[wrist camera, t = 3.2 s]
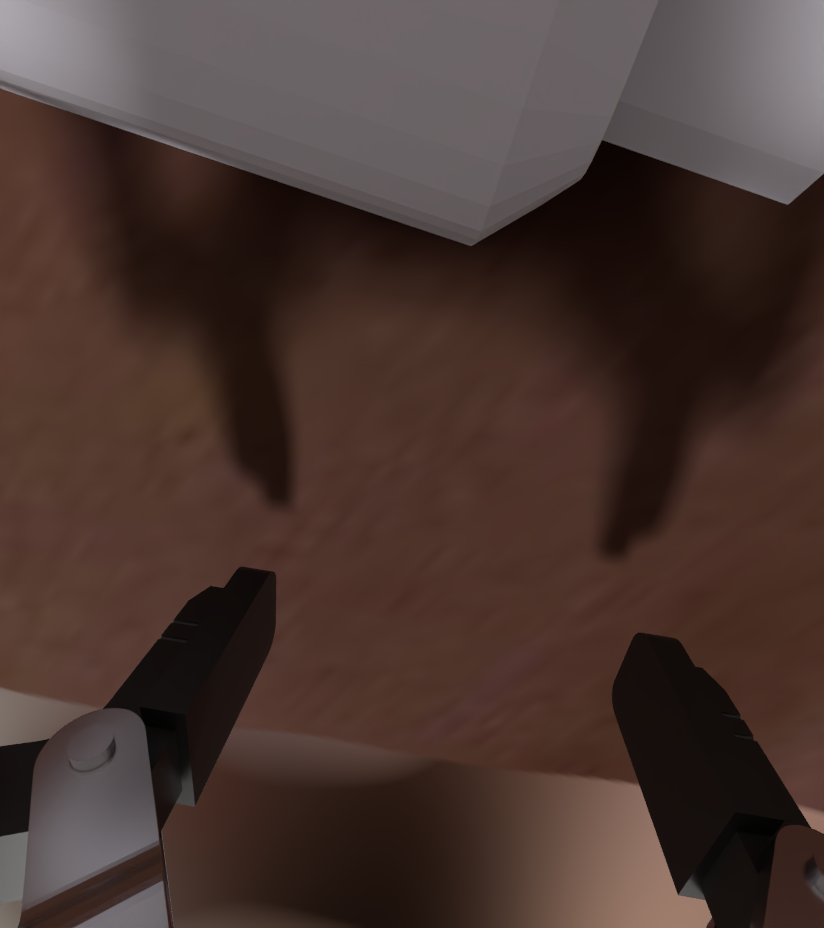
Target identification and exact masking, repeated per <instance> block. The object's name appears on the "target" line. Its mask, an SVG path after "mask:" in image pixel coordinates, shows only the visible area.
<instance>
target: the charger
mask: <svg viewBox="0 0 824 928" xmlns="http://www.w3.org/2000/svg"><path fill="white" fill-rule="evenodd" d="M0 88H1V89H4V90H6V91H9V92H12V93H15V94H18V95H21V96H24V97H27V98H30V99H33V100H36V101H39V102H42V103H45V104H48V105H51V106H54V107H57V108H60V109H63V110H66V111H69V112H72V113H75V114H78V115H81V116H84V117H87V118H90V119H93V120H96V121H99V122H102V123H105V124H108V125H111V126H114V127H117V128H120V129H123V130H126V131H129V132H132V133H135V134H138V135H141V136H144V137H147V138H150V139H153V140H156V141H159V142H162V143H165V144H168V145H171V146H173V147H176V148H179V149H182V150H185V151H188V152H191V153H194V154H197V155H200V156H203V157H206V158H209V159H212V160H215V161H218V162H221V163H224V164H227V165H230V166H233V167H236V168H239V169H242V170H245V171H248V172H251V173H254V174H257V175H260V176H263V177H266V178H269V179H272V180H275V181H278V182H281V183H284V184H287V185H290V186H293V187H296V188H299V189H302V190H305V191H308V192H311V193H314V194H317V195H320V196H323V197H326V198H329V199H332V200H335V201H338V202H341V203H344V204H347V205H350V206H353V207H356V208H358V209H361V210H364V211H367V212H370V213H373V214H376V215H379V216H382V217H385V218H388V219H391V220H394V221H397V222H400V223H403V224H406V225H409V226H412V227H415V228H418V229H421V230H424V231H427V232H430V233H433V234H436V235H439V236H442V237H445V238H448V239H451V240H454V241H457V242H460V243H463V244H466V245H469V246H472V245H474V244H476V243H477V242H479V241H481V240H483V239H484V238H486V237H488V236H489V235H491V234H493V233H495V232H496V231H498V230H500V229H501V228H503V227H505V226H506V225H508V224H510V223H512V222H513V221H515V220H517V219H518V218H520V217H522V216H524V215H525V214H527V213H529V212H530V211H532V210H534V209H536V208H537V207H539V206H541V205H542V204H544V203H545V202H547V201H548V200H550V199H551V198H553V197H555V196H556V195H558V194H559V193H561V192H562V191H564V190H565V189H567V188H569V187H570V186H572V185H573V184H575V183H576V182H578V181H579V180H581V178H582V177H583V176H584V174H585V173H586V171H587V169H588V167H589V166H590V164H591V162H592V160H593V158H594V156H595V153H596V151H597V149H598V147H599V145H600V143H601V141H602V140H604V141H606V142H609V143H612V144H615V145H618V146H621V147H624V148H627V149H629V150H632V151H635V152H638V153H641V154H644V155H647V156H649V157H652V158H655V159H658V160H661V161H664V162H667V163H669V164H672V165H675V166H678V167H681V168H684V169H687V170H690V171H692V172H695V173H698V174H701V175H704V176H707V177H710V178H712V179H715V180H718V181H721V182H724V183H727V184H730V185H733V186H735V187H738V188H741V189H744V190H747V191H750V192H753V193H755V194H758V195H761V196H764V197H767V198H770V199H773V200H776V201H778V202H781V203H784V204H787V205H788V204H790V203H791V202H792V201H793V200H794V199H795V198H796V197H798V196H799V195H800V194H801V193H802V192H803V191H804V190H806V189H807V188H808V187H809V186H810V185H811V184H812V183H814V182H815V181H816V180H817V179H818V178H819V177H820V176H822V175H823V174H824V0H0Z"/></svg>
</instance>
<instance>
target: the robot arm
mask: <svg viewBox="0 0 824 928" xmlns="http://www.w3.org/2000/svg"><path fill="white" fill-rule="evenodd" d="M275 625H276V575H275V573H274V572H272V571H265V570H259V569H253V568H247V567H240V568H238V569H237V570H236V572H235V573H234V575H233V576H232V577H231V579H230V580H229V582H228V583H227V584H226V586H225V587H224V588H219V587H213V586H210V587H209V588H207V589H206V590H204V591H202V592H201V593H199V594H198V595H196V596H195V597H193V598H192V599H190V600H189V601H188V602H187V603H186V605H185V606H184V607H183V609H182V610H181V611H180V612H179V614H178V615H177V616H176V617H175V619H174V622H173V623H171V624H170V625H169V626H168V628H167V629H166V630H165V631H164V633H163V634H162V637H161V639H158V640H157V642H156V643H155V644H154V645H153V647H152V648H151V649H150V651H149V652H148V653H147V654H146V656H145V657H144V658H143V659H142V661H141V662H140V663H139V665H138V666H137V667H136V668H135V670H134V671H133V672H132V673H131V675H130V676H129V677H128V679H127V680H126V681H125V682H124V684H123V685H122V686H121V687H120V689H119V690H118V691H117V693H116V694H115V695H114V696H113V698H112V699H111V700H110V701H109V703H108V704H107V705H106V706H105V707H104V708H103V709H100V710H97V711H93V712H91V713H88V714H85V715H83V716H81V717H79V718H77V719H75V720H73V721H72V722H70V723H68V724H67V725H65V726H64V727H63V728H61V729H60V730H59V731H58V732H57V733H56V734H54V735H53V736H52V737H51V738H50V739H47V740H42V741H37V742H30V743H22V744H15V745H7V746H1V747H0V904H4V903H8V902H13V901H17V900H21V899H23V902H22V911H21V918H20V923H19V926H18V928H174V925H173V917H172V909H171V902H170V894H169V886H168V878H167V871H166V863H165V855H164V847H163V839H162V832H161V830H162V828H163V827H164V825H165V823H166V821H167V819H168V817H169V815H170V813H171V811H172V809H173V807H174V805H175V803H177V804H183V805H188V806H196V804H197V802H198V800H199V797H200V795H201V793H202V791H203V789H204V787H205V785H206V783H207V781H208V778H209V777H210V774H211V772H212V770H213V768H214V766H215V764H216V762H217V759H218V758H219V755H220V754H221V751H222V749H223V747H224V745H225V743H226V741H227V739H228V737H229V735H230V733H231V731H232V728H233V726H234V724H235V722H236V720H237V718H238V716H239V714H240V712H241V710H242V707H243V705H244V703H245V701H246V699H247V697H248V695H249V693H250V691H251V689H252V687H253V684H254V682H255V680H256V678H257V676H258V674H259V672H260V670H261V668H262V666H263V664H264V661H265V659H266V657H267V655H268V653H269V651H270V648H271V645H272V641H273V637H274V633H275ZM612 702H613V709H614V713H615V716H616V719H617V722H618V724H619V727H620V730H621V733H622V736H623V739H624V742H625V744H626V747H627V750H628V753H629V756H630V759H631V762H632V765H633V767H634V770H635V773H636V776H637V779H638V782H639V785H640V787H641V790H642V793H643V796H644V799H645V801H646V805H647V807H648V810H649V813H650V816H651V819H652V822H653V824H654V827H655V830H656V833H657V836H658V839H659V842H660V845H661V847H662V850H663V853H664V856H665V859H666V862H667V864H668V867H669V870H670V873H671V876H672V879H673V882H674V885H675V888H676V890H677V893H678V895H681V896H686V897H692V898H698V899H703V900H706V902H707V905H708V908H709V910H710V913H711V915H712V918H711V920H710V921H709V922H708V924H707V926H706V928H824V834H822V833H820V832H818V831H817V830H814V829H811V827H810V826H809V824H808V822H807V821H806V819H805V818H804V816H803V814H802V813H801V811H800V810H799V808H798V806H797V805H796V803H795V802H794V800H793V798H792V797H791V795H790V794H789V792H788V790H787V789H786V787H785V785H784V784H783V782H782V781H781V779H780V777H779V776H778V774H777V773H776V771H775V769H774V768H773V766H772V765H771V763H770V761H769V760H768V758H767V757H766V755H765V753H764V752H763V750H762V749H761V747H760V745H759V744H758V742H757V741H754V739H753V734H752V733H751V731H750V729H749V728H748V726H747V725H746V723H745V721H744V720H741V719H740V713H739V712H738V710H737V709H736V707H735V705H734V704H733V702H732V701H731V699H730V697H729V696H728V694H727V693H726V691H725V690H724V689H723V688H722V687H721V686H720V685H719V684H718V683H717V682H716V681H715V680H714V679H713V678H712V677H711V676H710V675H709V674H708V673H707V672H706V671H705V670H704V669H703V668H699V667H695V666H694V664H693V663H692V661H691V659H690V658H689V656H688V654H687V652H686V651H685V649H684V647H683V646H682V644H681V643H680V642H679V641H678V640H677V639H675V638H670V637H664V636H658V635H652V634H646V633H637V634H636V635H635V636H634V637H633V639H632V641H631V644H630V646H629V648H628V651H627V653H626V655H625V658H624V660H623V662H622V665H621V667H620V669H619V672H618V674H617V676H616V679H615V681H614V685H613V690H612Z"/></svg>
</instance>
